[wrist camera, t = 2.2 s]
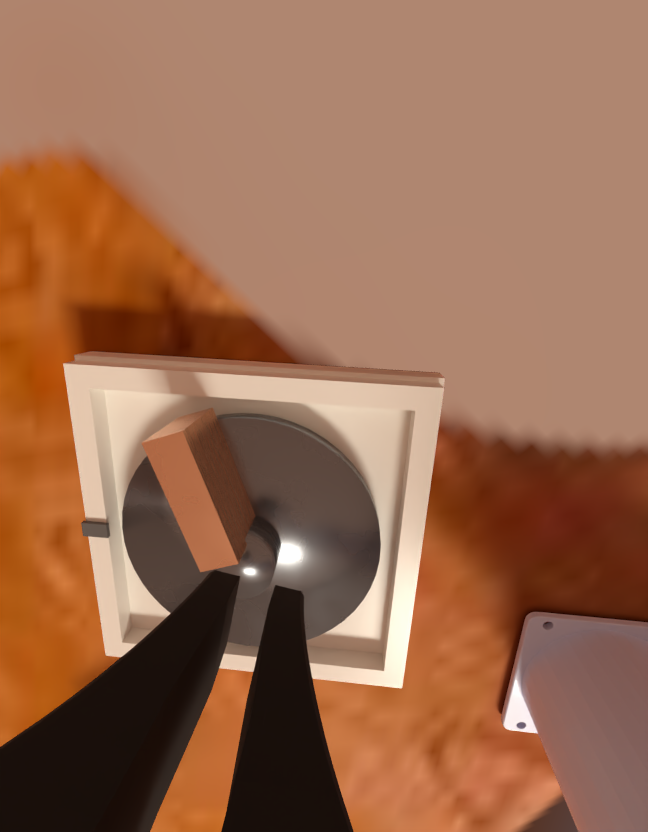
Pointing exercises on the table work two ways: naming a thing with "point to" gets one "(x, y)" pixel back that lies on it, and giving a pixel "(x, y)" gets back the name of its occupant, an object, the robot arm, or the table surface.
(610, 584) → the table surface
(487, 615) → the table surface
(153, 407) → the dial plate
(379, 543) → the dial
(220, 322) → the table surface
